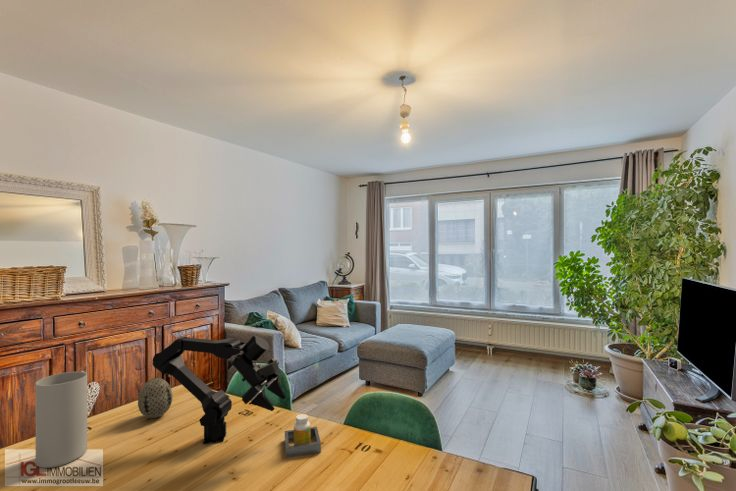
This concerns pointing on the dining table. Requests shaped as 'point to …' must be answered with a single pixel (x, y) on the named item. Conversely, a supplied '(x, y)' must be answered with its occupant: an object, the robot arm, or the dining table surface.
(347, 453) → the dining table surface
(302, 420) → the supplement bottle
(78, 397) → the cylinder vase
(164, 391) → the decorative egg
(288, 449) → the collar
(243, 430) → the dining table surface
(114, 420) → the dining table surface
